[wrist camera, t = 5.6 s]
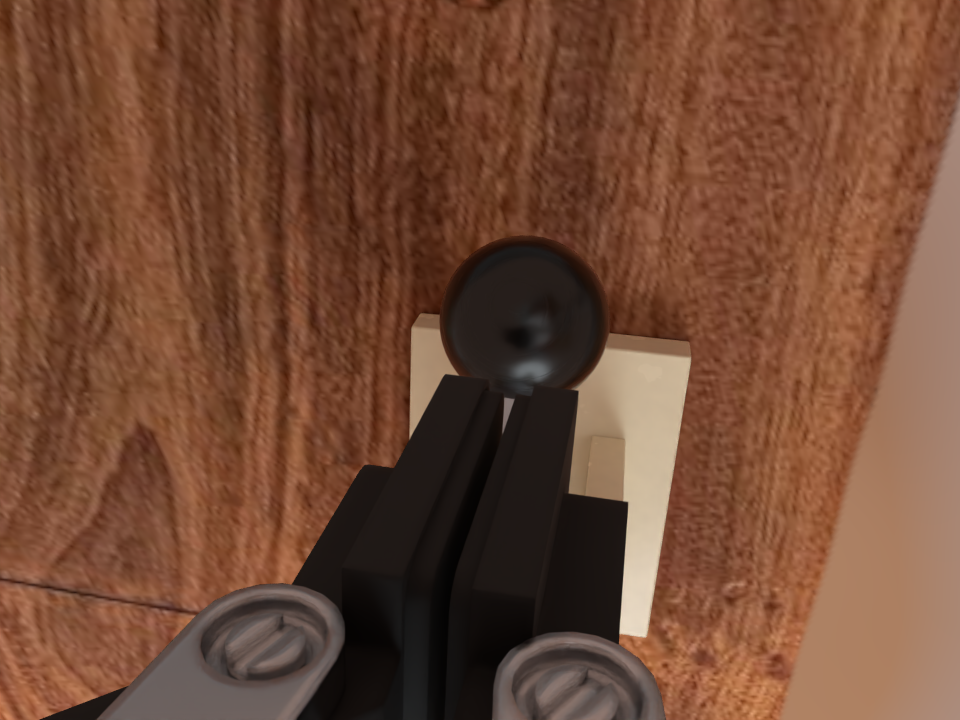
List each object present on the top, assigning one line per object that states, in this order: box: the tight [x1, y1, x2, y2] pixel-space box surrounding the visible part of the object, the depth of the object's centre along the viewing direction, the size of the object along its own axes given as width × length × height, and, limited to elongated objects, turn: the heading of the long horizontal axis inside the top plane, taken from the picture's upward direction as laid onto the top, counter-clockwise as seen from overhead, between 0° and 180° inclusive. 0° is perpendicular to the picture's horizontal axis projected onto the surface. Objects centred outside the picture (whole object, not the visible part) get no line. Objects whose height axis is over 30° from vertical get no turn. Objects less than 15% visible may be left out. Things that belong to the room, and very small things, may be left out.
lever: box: [439, 235, 610, 434], centre depth 16 cm, size 13×3×3 cm, turn 177°
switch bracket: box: [409, 313, 692, 638], centre depth 21 cm, size 10×8×16 cm
